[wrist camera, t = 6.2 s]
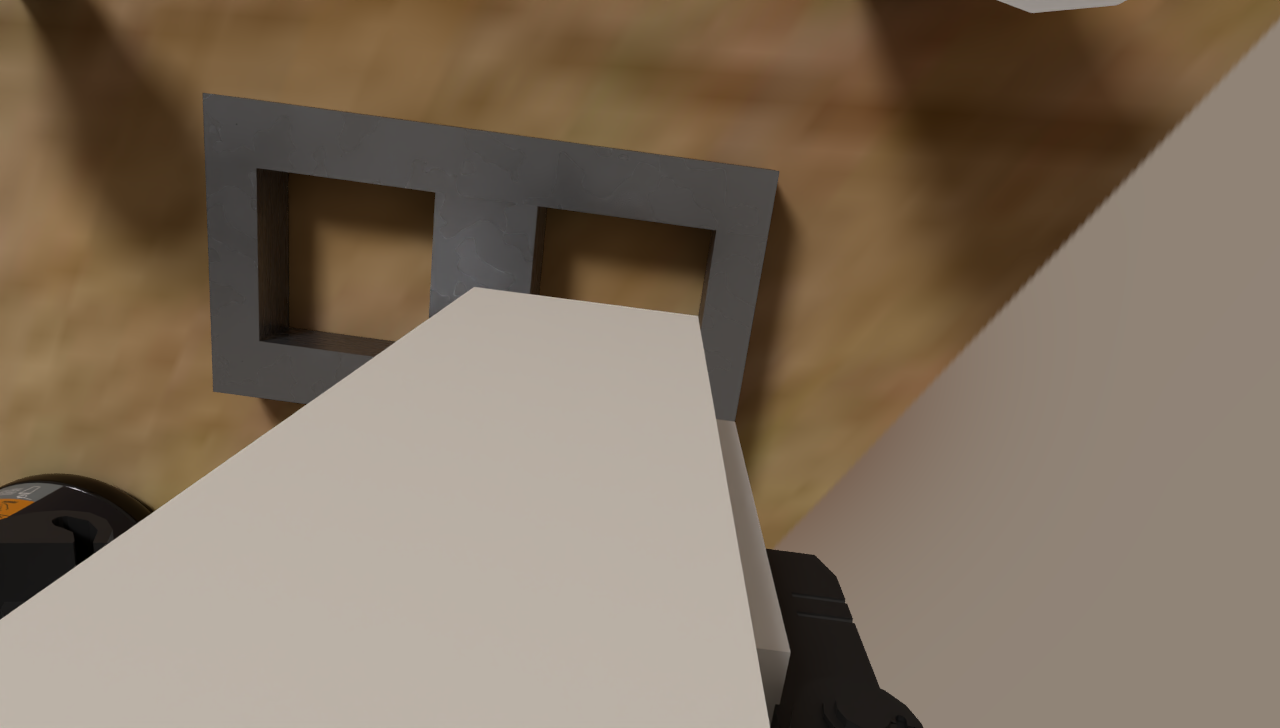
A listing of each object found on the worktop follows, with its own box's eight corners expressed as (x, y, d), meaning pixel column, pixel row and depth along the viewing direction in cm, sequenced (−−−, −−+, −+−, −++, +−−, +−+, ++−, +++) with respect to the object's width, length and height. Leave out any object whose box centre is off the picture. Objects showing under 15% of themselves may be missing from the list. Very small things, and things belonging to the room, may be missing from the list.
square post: (461, 490, 18) (-423, 1946, 3) (474, 287, 16) (-958, 1290, 2) (667, 517, 18) (661, 2091, 3) (697, 316, 16) (911, 1535, 2)
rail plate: (245, 374, 34) (213, 391, 31) (239, 97, 30) (202, 92, 28) (723, 438, 34) (727, 461, 31) (770, 169, 30) (779, 171, 28)
